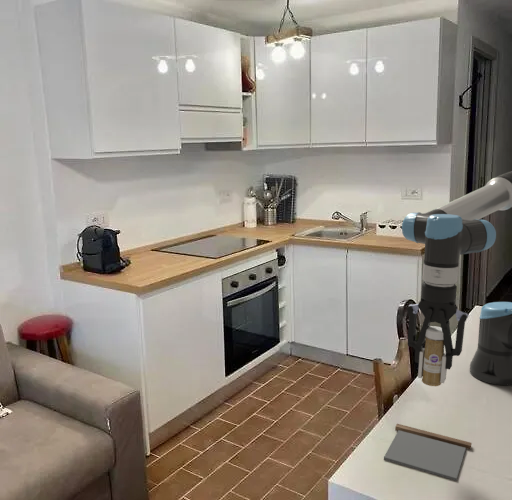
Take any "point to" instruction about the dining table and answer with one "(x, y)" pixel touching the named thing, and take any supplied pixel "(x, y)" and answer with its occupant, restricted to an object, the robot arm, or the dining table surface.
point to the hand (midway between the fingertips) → (431, 378)
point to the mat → (426, 454)
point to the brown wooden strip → (434, 436)
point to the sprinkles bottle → (433, 356)
